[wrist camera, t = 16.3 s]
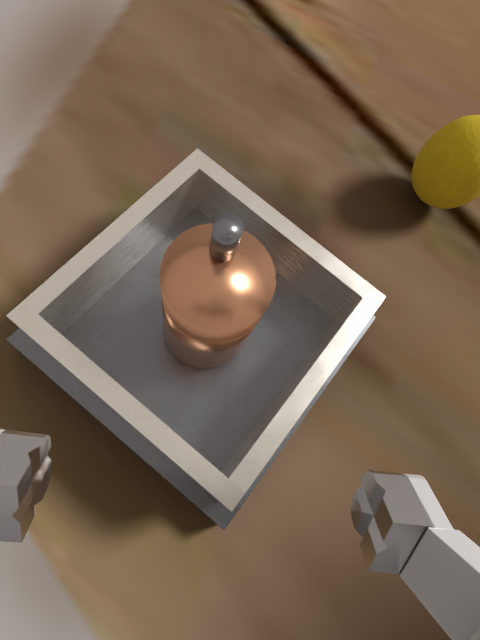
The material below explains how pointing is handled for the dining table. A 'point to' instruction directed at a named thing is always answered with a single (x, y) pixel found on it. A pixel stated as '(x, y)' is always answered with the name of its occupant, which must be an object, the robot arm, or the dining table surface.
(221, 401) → the open square box
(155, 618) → the dining table surface
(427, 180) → the lemon
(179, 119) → the dining table surface
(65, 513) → the dining table surface
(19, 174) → the dining table surface
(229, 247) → the copper upright cylinder
